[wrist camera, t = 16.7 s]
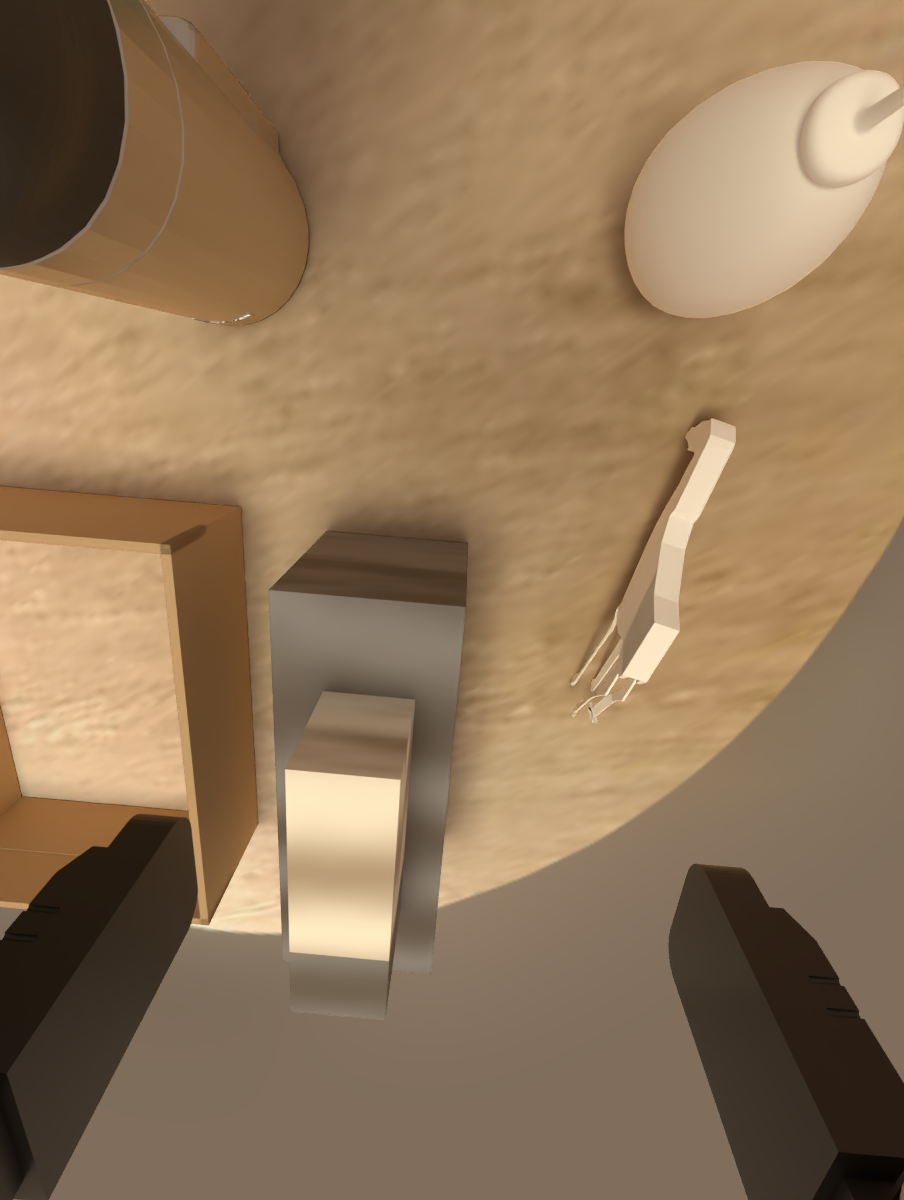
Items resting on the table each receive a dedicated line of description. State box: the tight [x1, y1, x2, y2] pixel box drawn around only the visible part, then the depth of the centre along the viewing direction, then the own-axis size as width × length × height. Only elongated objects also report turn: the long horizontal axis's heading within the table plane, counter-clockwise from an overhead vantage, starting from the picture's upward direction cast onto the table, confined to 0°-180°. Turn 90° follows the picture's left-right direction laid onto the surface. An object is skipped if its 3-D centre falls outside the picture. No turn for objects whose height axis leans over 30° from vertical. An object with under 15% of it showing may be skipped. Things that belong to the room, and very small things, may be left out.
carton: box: [0, 486, 258, 925], centre depth 36 cm, size 25×20×9 cm
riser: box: [269, 531, 468, 974], centre depth 35 cm, size 24×9×11 cm, turn 176°
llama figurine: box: [570, 418, 736, 723], centre depth 34 cm, size 2×11×18 cm
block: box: [285, 691, 415, 1020], centre depth 27 cm, size 14×4×6 cm, turn 175°
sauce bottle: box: [624, 61, 904, 318], centre depth 22 cm, size 8×8×18 cm
